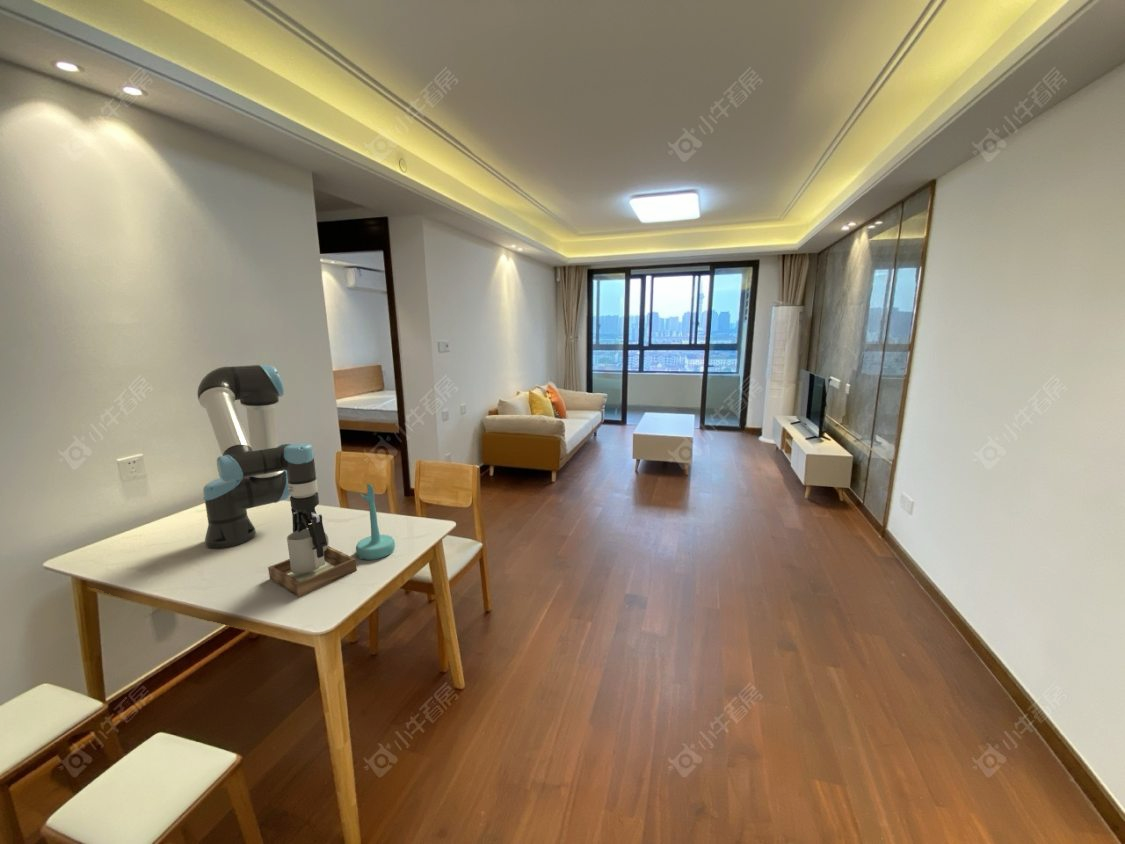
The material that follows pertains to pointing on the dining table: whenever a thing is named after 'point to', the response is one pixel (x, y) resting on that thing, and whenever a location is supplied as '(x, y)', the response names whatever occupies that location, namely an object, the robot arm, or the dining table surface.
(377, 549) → the teal branch stand
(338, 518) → the dining table surface
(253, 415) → the robot arm
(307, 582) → the walnut box
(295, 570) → the mug
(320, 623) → the dining table surface
